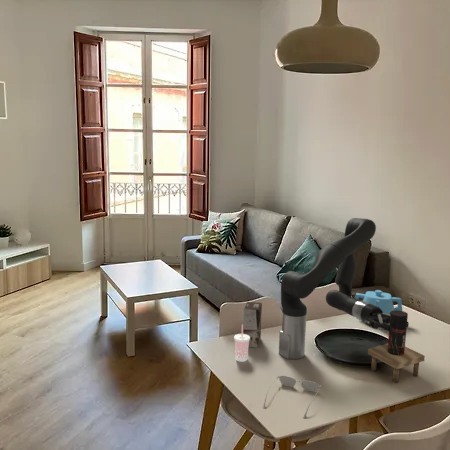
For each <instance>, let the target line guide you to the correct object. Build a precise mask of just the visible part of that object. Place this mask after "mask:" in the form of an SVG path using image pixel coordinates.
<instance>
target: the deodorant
mask: <svg viewBox="0 0 450 450" xmlns="http://www.w3.org/2000/svg"><path fill="white" fill-rule="evenodd" d="M408 317H409V314H408V312H406V311H403V310H402V311H399V310H394V311H391V313H390V324H389V325H391V326H392V331H391V332H389V331H388V338H387V339H388V340H387V344H388V349H387V351H388V353H390V354H392V355H397V356H400V355H404V352H405V347H406V341H407V340H406V339H407V328H408V327H407V322H408Z"/></svg>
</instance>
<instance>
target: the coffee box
mask: <svg viewBox="0 0 450 450" xmlns="http://www.w3.org/2000/svg"><path fill="white" fill-rule="evenodd" d="M262 308H263V303H262V302H257V301H254V302H253V301H247V302H246V304H245V306H244V307H243V334H246V335H249V336H250V340H249V347H250V348H259V344H260V342H261V337H262V335H261V334H262V313H263V312H262V311H263V310H262ZM249 347H248V348H249Z"/></svg>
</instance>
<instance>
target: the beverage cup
mask: <svg viewBox="0 0 450 450" xmlns="http://www.w3.org/2000/svg"><path fill="white" fill-rule="evenodd" d="M243 328H244V323H242V324H241V333H238V334H237V333H236V334H235V335H234V337H233V340H234V351H235V360H236V361H237V362H242V363H243V362H246V361H248V356H249V340H250V336H249V335H246V334H243Z"/></svg>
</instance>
